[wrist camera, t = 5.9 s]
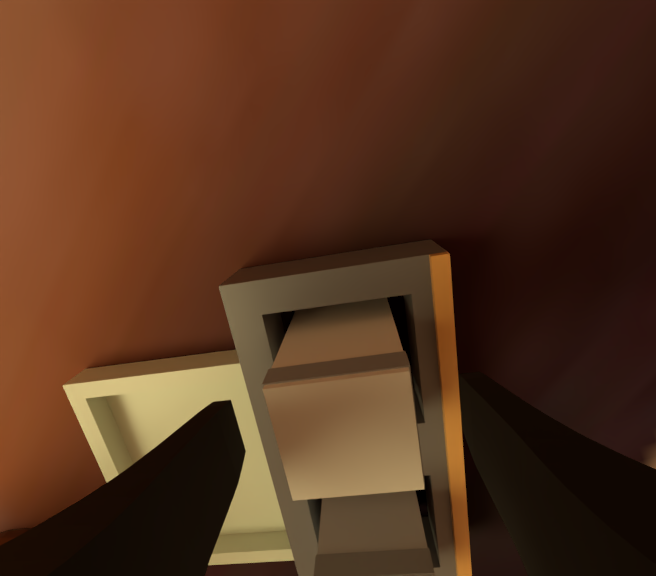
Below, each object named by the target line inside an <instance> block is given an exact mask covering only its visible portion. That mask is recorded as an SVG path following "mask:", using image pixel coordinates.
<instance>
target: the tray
mask: <svg viewBox="0 0 656 576" xmlns="http://www.w3.org/2000/svg"><path fill="white" fill-rule="evenodd" d="M63 388H64V390H65V392H66V394H67V396H68V399H69V401H70V403H71V405H72V407H73V410H74V412H75V414H76V416H77V418H78V421H79V423H80V425H81V427H82V429H83V432H84V434H85V436H86V438H87V440H88V443H89V445H90V447H91V449H92V451H93V454H94V456H95V458H96V460H97V462H98V465H99V467H100V469H101V471H102V473H103V476H104V478H105V480H106V482H109V481H110V480H112V479H113V478H115V477H116V476H118V475H119V474H120V473H122V472H123V471H125V470H126V469H127V468H129V467H130V466H131V465H133V464H134V463H135V462H137V461H138V460H139V459H140V458H142V457H143V456H144V455H146V454H147V453H148V452H150V451H151V450H152V449H154V448H155V447H156V446H158V445H159V444H160V443H161V442H163V441H164V440H165V439H166V438H168V437H169V436H170V435H171V434H172V433H174V432H175V431H176V430H177V429H179V428H180V427H181V426H182V425H184V424H185V423H186V422H187V421H188V420H190V419H191V418H192V417H193V416H195V415H196V414H197V413H198V412H200V411H201V410H202V409H204V408H205V407H206V406H208V405H209V404H211V403H212V402H215V401H224V400H231V402H232V405H233V409H234V412H235V416H236V419H237V422H238V426H239V429H240V433H241V436H242V440H243V443H244V447H245V450H246V453H245V457H244V462H243V467H242V471H241V475H240V479H239V483H238V486H237V488H236V491H235V494H234V497H233V499H232V502H231V505H230V508H229V510H228V513H227V516H226V518H225V521H224V524H223V526H222V529H221V531H220V534H219V537H218V539H217V542H216V545H215V547H214V550H213V553H212V555H211V558H210V561H209V564H208V565H220V564H237V563H255V562H272V561H290V560H294V558H293V554H292V550H291V547H290V543H289V539H288V536H287V532H286V529H285V525H284V521H283V518H282V514H281V510H280V507H279V503H278V500H277V496H276V492H275V489H274V485H273V481H272V478H271V474H270V471H269V467H268V463H267V460H266V456H265V452H264V449H263V445H262V442H261V438H260V434H259V431H258V427H257V423H256V420H255V416H254V413H253V409H252V405H251V402H250V398H249V394H248V391H247V387H246V384H245V380H244V376H243V373H242V369H241V365H240V362H239V358H238V355H237V351H236V349H235V350H228V351H220V352H212V353H204V354H197V355H189V356H181V357H173V358H166V359H158V360H150V361H142V362H135V363H127V364H119V365H111V366H104V367H96V368H88V369H85V370H83V371H82V372H80V373H79V374H78V375H76V376H75V377H73V378H72V379H71V380H69V381H68V382H66V383H65V384H64V385H63Z"/></svg>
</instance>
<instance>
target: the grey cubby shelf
mask: <svg viewBox="0 0 656 576" xmlns="http://www.w3.org/2000/svg"><path fill="white" fill-rule="evenodd" d="M219 289H220V293H221V297H222V300H223V304H224V307H225V311H226V315H227V318H228V322H229V326H230V329H231V333H232V336H233V340H234V344H235V347H236V351H237V355H238V358H239V362H240V365H241V369H242V373H243V376H244V380H245V384H246V387H247V391H248V394H249V398H250V402H251V405H252V409H253V413H254V416H255V420H256V423H257V427H258V431H259V434H260V438H261V442H262V445H263V449H264V452H265V456H266V460H267V463H268V467H269V471H270V474H271V478H272V481H273V485H274V489H275V492H276V496H277V500H278V503H279V507H280V510H281V514H282V518H283V521H284V525H285V529H286V532H287V536H288V539H289V543H290V547H291V550H292V554H293V558H294V561H295V565H296V568H297V572H298V576H314V567H315V556H316V555H317V552H318V540H319V529H320V517H321V506H322V498H319V499H307V500H296V501H293V500H292V496H291V492H290V489H289V485H288V481H287V478H286V474H285V470H284V467H283V463H282V459H281V456H280V452H279V448H278V445H277V441H276V437H275V434H274V430H273V426H272V423H271V419H270V415H269V412H268V408H267V404H266V401H265V397H264V393H263V390H262V389H263V385H262V383H263V381H264V378H265V376H266V374H267V371H268V369H271V368H272V365H273V363H274V361H275V358H276V356H277V353H278V351H279V349H280V346H281V344H282V341H283V339H284V337H285V331H284V326H283V322H282V317H281V313H280V312H286V311H293V310H300V309H307V308H314V307H322V306H329V305H336V304H343V303H350V302H358V301H365V300H372V299H379V298H386V297H393V296H401V295H404V302H405V311H406V320H407V329H408V338H409V347H410V356H411V365H412V374H413V383H414V386H413V393H414V401H415V409H416V417H417V424H418V432H419V440H420V448H421V456H422V464H423V472H424V480H425V489H426V498H427V507H428V516H429V517H421V519H422V524H423V528H424V533H425V538H426V543H427V547H428V548H429V549H430V554H431V559H432V563H433V568H434V573H435V576H472V570H471V556H470V541H469V526H468V512H467V497H466V483H465V468H464V453H463V439H462V424H461V410H460V395H459V380H458V366H457V351H456V336H455V322H454V307H453V293H452V278H451V263H450V253H448V252H447V251H446V250H444V249H443V248H442V247H440V246H439V245H438V244H436V243H435V242H434V241H432V240H431V239H429V240H422V241H416V242H410V243H403V244H397V245H390V246H384V247H377V248H371V249H365V250H358V251H352V252H345V253H339V254H332V255H326V256H320V257H313V258H307V259H300V260H294V261H288V262H281V263H275V264H268V265H262V266H255V267H249V268H243V269H239V270H238V271H237V272H236V273H234V274H233V275H232V276H231V277H229V278H228V279H227V280H226V281H225V282H223V283H222V284H221V285H220V286H219Z"/></svg>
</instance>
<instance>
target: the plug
mask: <svg viewBox="0 0 656 576" xmlns="http://www.w3.org/2000/svg"><path fill="white" fill-rule="evenodd" d="M262 385H263V389H262V390H263V393H264V397H265V401H266V404H267V408H268V412H269V415H270V419H271V423H272V426H273V430H274V434H275V437H276V441H277V445H278V448H279V452H280V456H281V459H282V463H283V467H284V470H285V474H286V478H287V481H288V485H289V489H290V492H291V496H292V500H293V501H296V500H307V499H319V498H331V497H343V496H354V495H366V494H378V493H389V492H401V491H413V490H425V489H424V485H425V480H424V472H423V464H422V456H421V448H420V440H419V432H418V424H417V417H416V409H415V401H414V393H413V385H412V377H411V369H410V363H409V360H408V357H407V354H406V351H403V348H402V345H401V342H400V338H399V335H398V332H397V329H396V326H395V322H394V319H393V316H392V313H391V309H390V306H389V303H388V300H387V297H386V298H379V299H372V300H365V301H358V302H350V303H343V304H336V305H329V306H322V307H314V308H307V309H300V310H295V313H294V315H293V318H292V320H291V322H290V325H289V327H288V330H287V332H286V334H285V337H284V339H283V341H282V344H281V346H280V349H279V351H278V353H277V356H276V358H275V361H274V363H273V365H272V368H271V369H268V371H267V374H266V376H265V378H264V381H263V383H262Z"/></svg>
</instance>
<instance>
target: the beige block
mask: <svg viewBox="0 0 656 576" xmlns="http://www.w3.org/2000/svg"><path fill="white" fill-rule="evenodd" d="M314 576H435V573H434V568H433V563H432V559H431V554H430V549H429V548H428V547H427V543H426V538H425V533H424V528H423V524H422V519H421V514H420V509H419V505H418V500H417V495H416V490H413V491H401V492H389V493H378V494H366V495H354V496H343V497H331V498H322V506H321V517H320V529H319V540H318V552H317V555H316V556H315V567H314Z"/></svg>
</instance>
